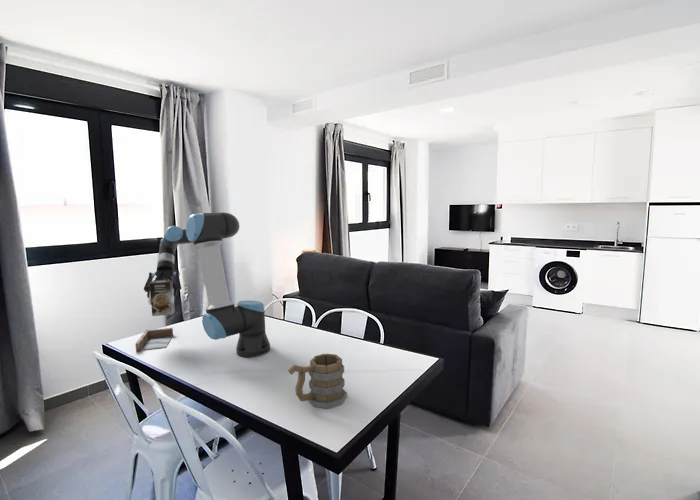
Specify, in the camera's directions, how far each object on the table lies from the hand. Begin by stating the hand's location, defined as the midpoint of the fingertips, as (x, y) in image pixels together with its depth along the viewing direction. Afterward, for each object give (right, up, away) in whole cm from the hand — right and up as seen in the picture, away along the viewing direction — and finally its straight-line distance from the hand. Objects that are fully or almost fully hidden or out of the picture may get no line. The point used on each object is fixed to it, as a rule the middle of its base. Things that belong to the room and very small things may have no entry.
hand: (161, 302), depth 174 cm
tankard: (+78, -27, -49) cm, 96 cm away
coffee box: (-1, -6, +4) cm, 7 cm away
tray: (-6, -21, +7) cm, 23 cm away
